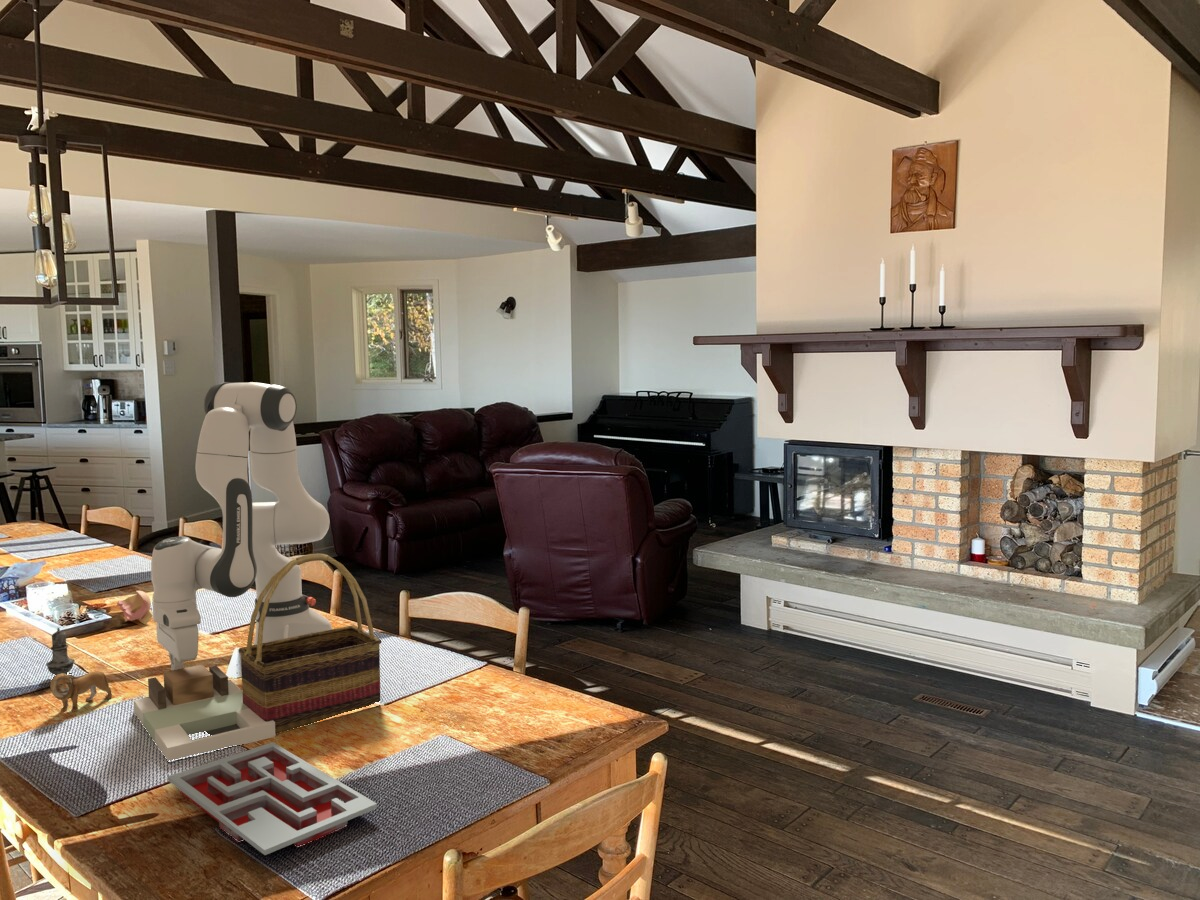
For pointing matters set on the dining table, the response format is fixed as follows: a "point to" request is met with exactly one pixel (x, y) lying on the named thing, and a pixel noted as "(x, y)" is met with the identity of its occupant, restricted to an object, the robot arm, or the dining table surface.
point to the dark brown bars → (159, 692)
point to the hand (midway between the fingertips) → (177, 671)
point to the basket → (310, 665)
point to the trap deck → (202, 723)
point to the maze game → (271, 797)
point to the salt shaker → (59, 655)
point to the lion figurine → (78, 687)
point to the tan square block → (188, 684)
